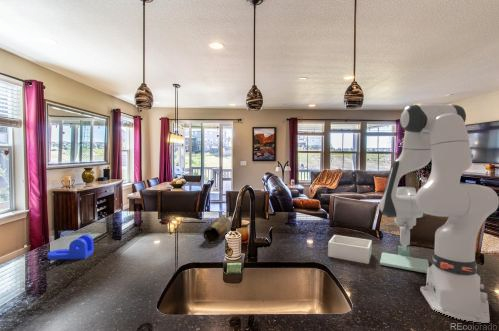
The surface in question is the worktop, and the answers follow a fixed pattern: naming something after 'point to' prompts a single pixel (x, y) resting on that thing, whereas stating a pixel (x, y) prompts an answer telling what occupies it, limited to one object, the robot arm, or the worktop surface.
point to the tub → (350, 248)
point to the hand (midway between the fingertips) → (404, 249)
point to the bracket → (75, 249)
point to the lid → (404, 261)
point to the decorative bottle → (217, 229)
